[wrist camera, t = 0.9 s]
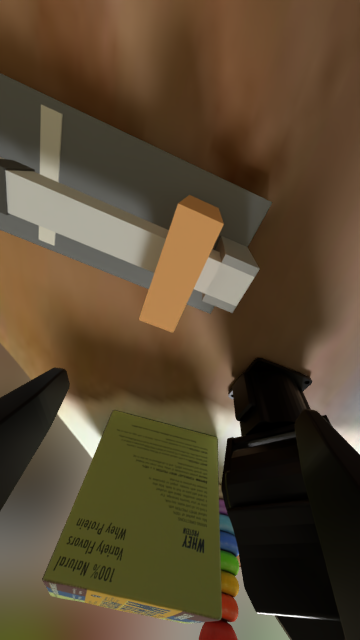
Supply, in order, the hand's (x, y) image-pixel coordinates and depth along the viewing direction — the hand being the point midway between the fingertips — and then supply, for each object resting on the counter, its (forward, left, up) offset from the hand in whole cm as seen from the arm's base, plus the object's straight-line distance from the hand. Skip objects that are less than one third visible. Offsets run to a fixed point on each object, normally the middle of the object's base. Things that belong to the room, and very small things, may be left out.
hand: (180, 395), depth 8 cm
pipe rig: (+8, -3, -12) cm, 15 cm away
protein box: (-5, +26, -13) cm, 30 cm away
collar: (+2, -3, -10) cm, 11 cm away
